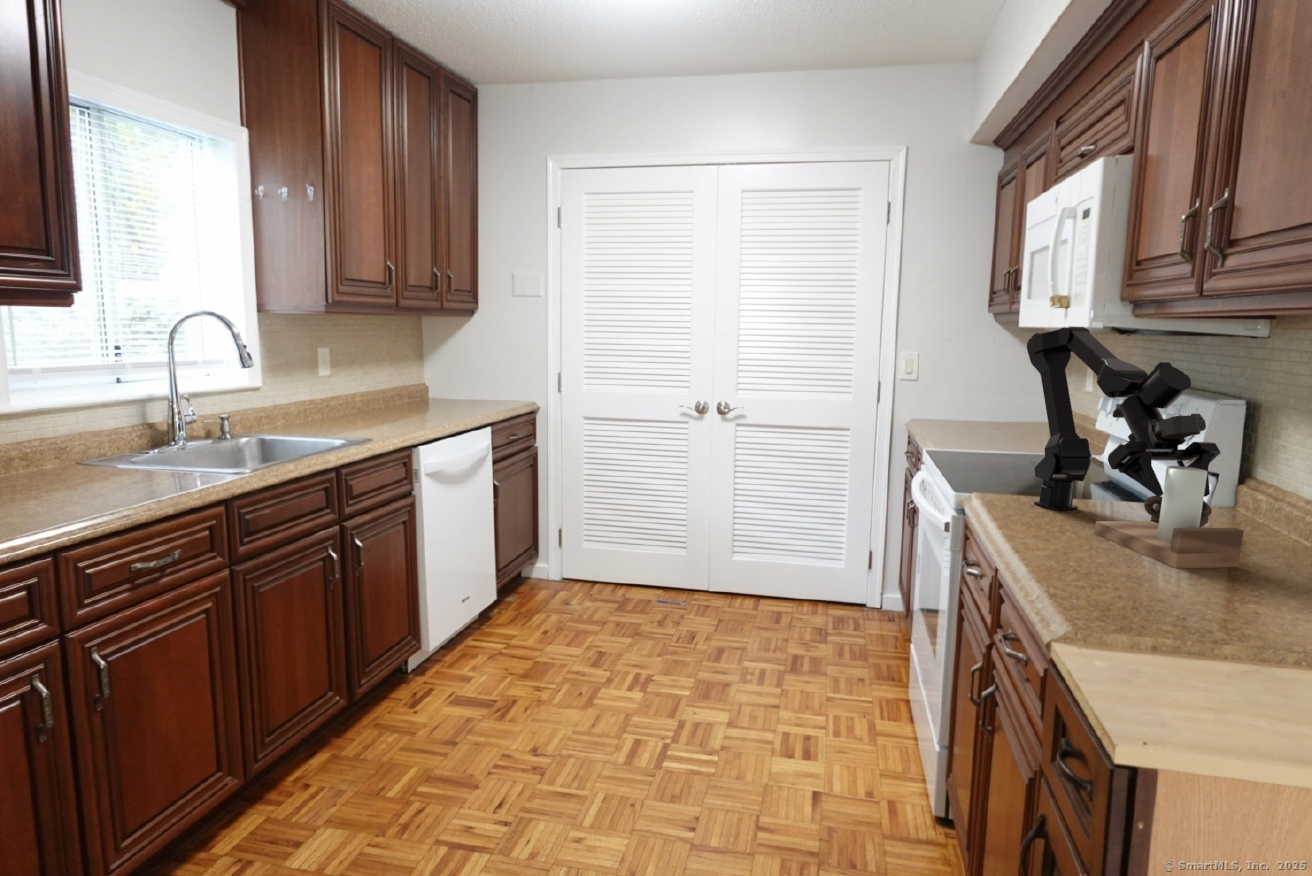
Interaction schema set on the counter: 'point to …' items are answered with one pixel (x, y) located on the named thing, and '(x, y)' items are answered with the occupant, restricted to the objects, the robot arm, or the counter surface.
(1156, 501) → the rusty ring shackle
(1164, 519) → the pale upright pillar block
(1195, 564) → the walnut shelf board
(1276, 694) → the counter surface
